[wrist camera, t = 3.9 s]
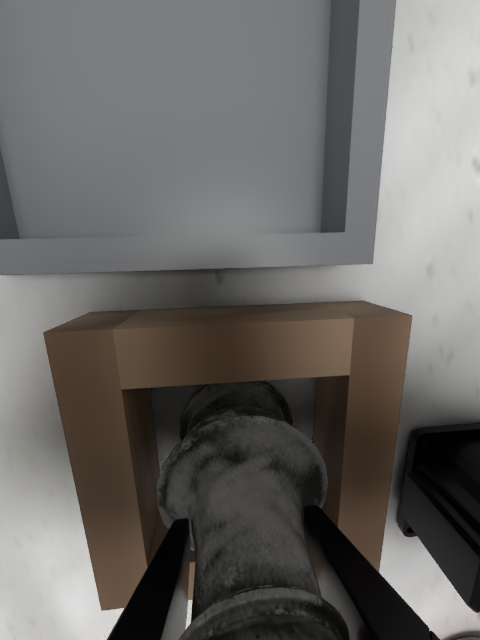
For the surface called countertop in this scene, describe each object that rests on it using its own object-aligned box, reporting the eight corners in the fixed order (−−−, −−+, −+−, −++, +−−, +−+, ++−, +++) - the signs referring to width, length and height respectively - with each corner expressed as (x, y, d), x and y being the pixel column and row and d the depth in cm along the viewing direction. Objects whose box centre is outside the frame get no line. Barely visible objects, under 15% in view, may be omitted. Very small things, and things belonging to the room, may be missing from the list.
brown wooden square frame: (363, 300, 12) (412, 315, 9) (345, 511, 14) (378, 576, 11) (90, 312, 11) (43, 332, 8) (126, 534, 13) (101, 610, 11)
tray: (362, -173, 8) (429, -367, 6) (337, 262, 11) (372, 263, 9) (-102, -219, 7) (-277, -480, 5) (10, 271, 10) (-58, 276, 8)
